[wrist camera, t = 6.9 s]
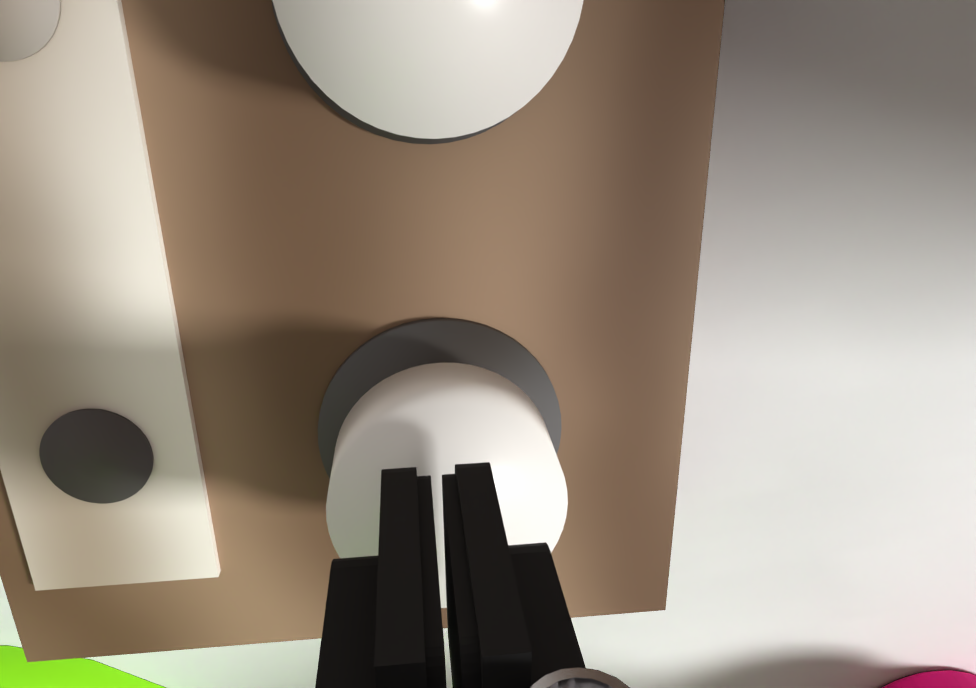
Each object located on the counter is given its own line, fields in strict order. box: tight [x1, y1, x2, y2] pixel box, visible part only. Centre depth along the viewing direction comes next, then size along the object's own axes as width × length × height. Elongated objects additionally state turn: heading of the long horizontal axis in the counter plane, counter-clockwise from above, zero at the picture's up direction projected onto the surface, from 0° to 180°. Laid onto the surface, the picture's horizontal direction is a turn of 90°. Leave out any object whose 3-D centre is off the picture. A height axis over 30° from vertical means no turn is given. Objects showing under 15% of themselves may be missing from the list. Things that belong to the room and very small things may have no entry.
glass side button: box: [326, 363, 568, 608], centre depth 13 cm, size 4×4×2 cm
